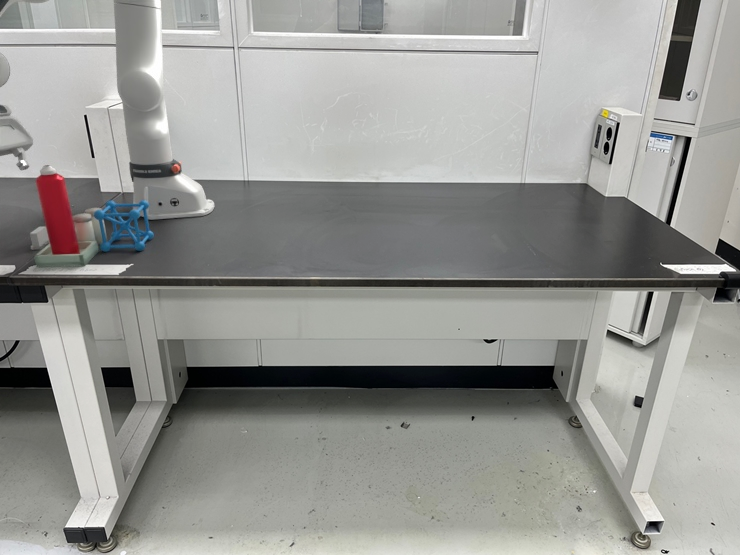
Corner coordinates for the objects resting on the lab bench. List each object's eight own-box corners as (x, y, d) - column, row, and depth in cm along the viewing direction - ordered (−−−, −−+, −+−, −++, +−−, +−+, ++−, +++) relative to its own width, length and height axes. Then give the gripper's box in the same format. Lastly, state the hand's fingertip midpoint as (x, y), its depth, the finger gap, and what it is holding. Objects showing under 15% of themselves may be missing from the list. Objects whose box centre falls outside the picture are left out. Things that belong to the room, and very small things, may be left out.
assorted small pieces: (113, 235, 139) (108, 204, 136) (84, 265, 121) (77, 231, 118) (47, 236, 138) (40, 205, 134) (8, 267, 119) (-2, 232, 116)
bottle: (49, 259, 121) (27, 168, 113) (57, 251, 126) (37, 163, 118) (75, 258, 122) (56, 168, 114) (83, 249, 127) (65, 162, 119)
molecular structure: (113, 238, 137) (106, 199, 133) (155, 237, 138) (149, 198, 134) (99, 253, 128) (91, 211, 124) (144, 252, 129) (137, 211, 125)
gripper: (-78, 116, 110) (-32, 176, 112) (14, 105, 128) (51, 157, 130) (-90, 133, 113) (-46, 191, 115) (1, 120, 131) (38, 170, 133)
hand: (7, 173), depth 122 cm, fingers open, 8 cm apart
